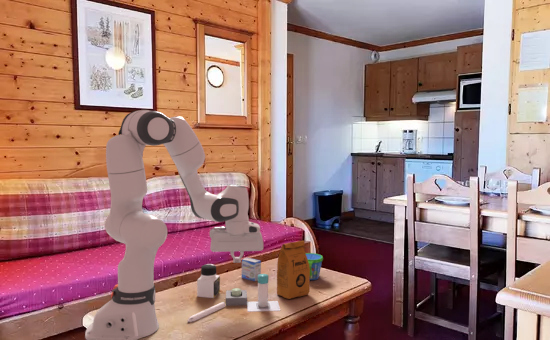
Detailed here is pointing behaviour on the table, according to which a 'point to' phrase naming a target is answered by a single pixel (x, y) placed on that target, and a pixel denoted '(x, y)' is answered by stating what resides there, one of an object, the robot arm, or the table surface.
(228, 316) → the table surface
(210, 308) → the marker
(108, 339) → the robot arm
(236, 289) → the button
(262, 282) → the fat marker
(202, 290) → the medicine bottle
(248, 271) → the medicine box
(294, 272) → the coffee package
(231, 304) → the button housing
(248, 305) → the drawing sheet
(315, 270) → the snack cup
